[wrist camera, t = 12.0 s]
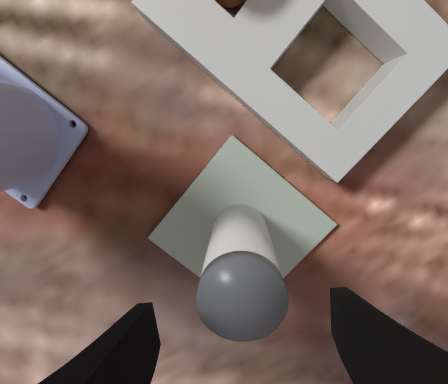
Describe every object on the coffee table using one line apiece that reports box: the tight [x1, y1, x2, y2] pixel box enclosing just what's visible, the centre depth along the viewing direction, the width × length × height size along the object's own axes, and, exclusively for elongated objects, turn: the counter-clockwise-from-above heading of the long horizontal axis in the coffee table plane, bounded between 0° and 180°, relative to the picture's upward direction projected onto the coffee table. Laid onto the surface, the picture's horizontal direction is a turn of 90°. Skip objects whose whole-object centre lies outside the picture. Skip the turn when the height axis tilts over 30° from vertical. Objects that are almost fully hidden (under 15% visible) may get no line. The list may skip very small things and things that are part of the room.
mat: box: [148, 135, 337, 278], centre depth 20 cm, size 10×10×1 cm
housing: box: [131, 0, 448, 183], centre depth 16 cm, size 16×10×2 cm, turn 50°
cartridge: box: [196, 204, 288, 342], centre depth 16 cm, size 4×4×8 cm
